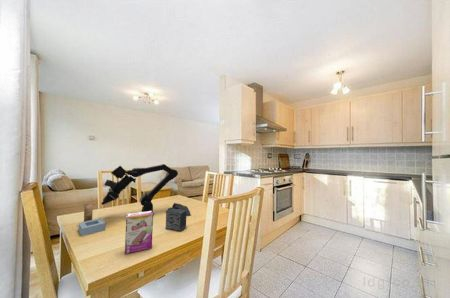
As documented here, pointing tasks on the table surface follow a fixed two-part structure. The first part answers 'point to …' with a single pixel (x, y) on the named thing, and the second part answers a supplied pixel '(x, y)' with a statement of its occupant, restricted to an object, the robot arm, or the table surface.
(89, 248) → the table surface
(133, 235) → the candy bar box
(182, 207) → the dark slate chunk
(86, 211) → the walnut peg
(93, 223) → the socket block
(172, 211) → the small box
